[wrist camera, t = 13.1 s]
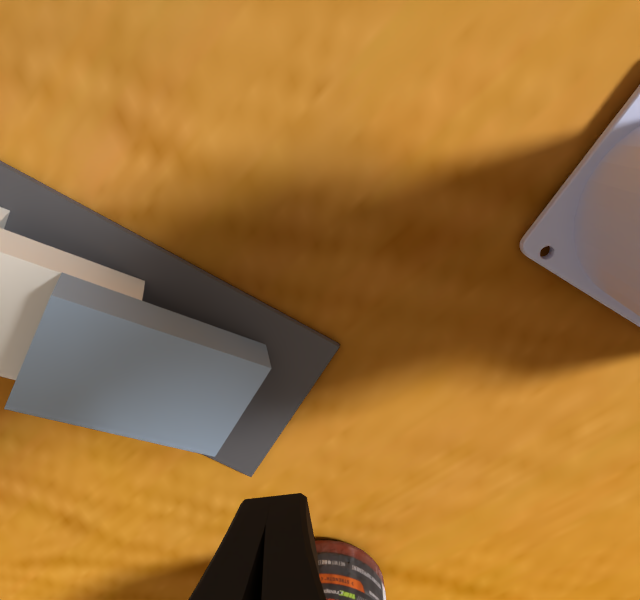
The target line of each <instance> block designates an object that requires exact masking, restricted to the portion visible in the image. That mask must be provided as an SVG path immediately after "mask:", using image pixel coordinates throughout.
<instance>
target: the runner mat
mask: <svg viewBox="0 0 640 600" xmlns="http://www.w3.org/2000/svg"><path fill="white" fill-rule="evenodd" d="M0 207H2V208H4V209H7V210H10V213H9V216H8V219H7V221H6V224H5V227H4V229H5V230H7V231H10V232H13V233H16V234H18V235H21V236H24V237H26V238H29V239H32V240H35V241H37V242H40V243H43V244H45V245H48V246H51V247H54V248H56V249H59V250H62V251H65V252H67V253H70V254H73V255H75V256H78V257H81V258H84V259H86V260H89V261H92V262H94V263H97V264H100V265H103V266H105V267H108V268H111V269H114V270H116V271H119V272H122V273H124V274H127V275H130V276H133V277H135V278H138V279H141V280H143V281H145V285H144V292H143V298H142V301H144V302H147V303H150V304H153V305H155V306H158V307H161V308H164V309H167V310H170V311H172V312H175V313H178V314H181V315H184V316H186V317H189V318H192V319H195V320H198V321H201V322H203V323H206V324H209V325H212V326H215V327H217V328H220V329H223V330H226V331H229V332H232V333H234V334H237V335H240V336H243V337H246V338H248V339H251V340H254V341H257V342H260V343H263V344H265V345H266V347H267V351H268V355H269V359H270V364H271V368H272V369H271V370H270V372H269V373H268V375H267V376H266V378H265V380H264V381H263V383H262V384H261V386H260V387H259V389H258V390H257V392H256V394H255V395H254V397H253V398H252V400H251V401H250V403H249V405H248V406H247V408H246V409H245V411H244V412H243V414H242V415H241V417H240V419H239V420H238V422H237V423H236V425H235V426H234V428H233V430H232V431H231V433H230V434H229V436H228V437H227V439H226V440H225V442H224V444H223V445H222V447H221V448H220V450H219V451H218V453H217V455H216V456H215V457H213V456H209V455H205V456H207V457H209V458H211V459H213V460H216V461H218V462H220V463H222V464H224V465H226V466H228V467H231V468H233V469H235V470H237V471H239V472H241V473H243V474H245V475H248V476H250V477H251V476H252V475H253V474H254V472H255V471H256V469H257V468H258V466H259V465H260V463H261V462H262V460H263V459H264V457H265V456H266V454H267V453H268V451H269V450H270V449H271V447H272V446H273V444H274V443H275V441H276V440H277V438H278V437H279V435H280V434H281V432H282V431H283V429H284V428H285V426H286V425H287V424H288V422H289V421H290V419H291V418H292V416H293V415H294V413H295V412H296V410H297V409H298V407H299V406H300V404H301V403H302V402H303V400H304V399H305V397H306V396H307V394H308V393H309V391H310V390H311V388H312V387H313V385H314V384H315V382H316V381H317V379H318V378H319V377H320V375H321V374H322V372H323V371H324V369H325V368H326V366H327V365H328V363H329V362H330V360H331V359H332V357H333V356H334V354H335V353H336V352H337V350H338V349H339V347H340V345H339V343H337V342H335V341H333V340H332V339H330V338H328V337H326V336H324V335H322V334H320V333H319V332H317V331H315V330H313V329H311V328H309V327H308V326H306V325H304V324H302V323H300V322H298V321H296V320H295V319H293V318H291V317H289V316H287V315H285V314H283V313H282V312H280V311H278V310H276V309H274V308H272V307H270V306H269V305H267V304H265V303H263V302H261V301H259V300H258V299H256V298H254V297H252V296H250V295H248V294H246V293H245V292H243V291H241V290H239V289H237V288H235V287H233V286H232V285H230V284H228V283H226V282H224V281H222V280H220V279H219V278H217V277H215V276H213V275H211V274H209V273H207V272H206V271H204V270H202V269H200V268H198V267H196V266H195V265H193V264H191V263H189V262H187V261H185V260H183V259H182V258H180V257H178V256H176V255H174V254H172V253H170V252H169V251H167V250H165V249H163V248H161V247H159V246H157V245H156V244H154V243H152V242H150V241H148V240H146V239H144V238H143V237H141V236H139V235H137V234H135V233H133V232H132V231H130V230H128V229H126V228H124V227H122V226H120V225H119V224H117V223H115V222H113V221H111V220H109V219H107V218H106V217H104V216H102V215H100V214H98V213H96V212H94V211H93V210H91V209H89V208H87V207H85V206H83V205H82V204H80V203H78V202H76V201H74V200H72V199H70V198H69V197H67V196H65V195H63V194H61V193H59V192H57V191H56V190H54V189H52V188H50V187H48V186H46V185H44V184H43V183H41V182H39V181H37V180H35V179H33V178H31V177H30V176H28V175H26V174H24V173H22V172H20V171H19V170H17V169H15V168H13V167H11V166H9V165H7V164H6V163H4V162H2V161H0ZM203 455H204V454H203Z"/></svg>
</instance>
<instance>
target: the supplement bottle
mask: <svg viewBox="0 0 640 600" xmlns="http://www.w3.org/2000/svg"><path fill="white" fill-rule="evenodd" d="M315 545H316V550H317V556H318V565H319V577H320V580H321V584H322V587H323V590H324V593H325V596H326V599H327V600H386V594H385V588H384V581H383V576H382V573H381V571H380V569H379V566H378V565H377V564H376V563H375V561H374V560H373V559H372V558H371V557H370V556H369V555H368V554H366V553H365V552H364V551H362V550H361V549H359V548H357V547H355V546H353V545H350V544H347V543H344V542H340V541H333V540H317V541H315Z"/></svg>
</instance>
